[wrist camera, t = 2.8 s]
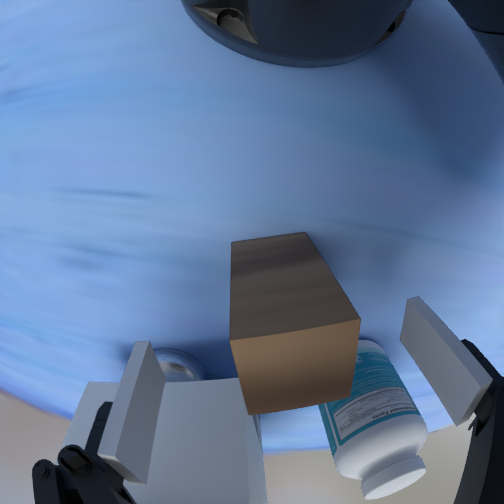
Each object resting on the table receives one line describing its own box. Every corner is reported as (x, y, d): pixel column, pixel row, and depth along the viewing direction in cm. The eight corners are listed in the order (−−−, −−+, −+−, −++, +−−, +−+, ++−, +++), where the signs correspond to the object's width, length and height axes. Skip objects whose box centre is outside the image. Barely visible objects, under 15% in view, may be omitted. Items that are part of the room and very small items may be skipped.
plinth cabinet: (104, 340, 22) (40, 495, 8) (242, 328, 22) (255, 532, 8) (154, 425, 28) (136, 544, 13) (261, 420, 28) (275, 551, 13)
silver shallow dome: (130, 349, 23) (122, 368, 21) (193, 344, 23) (189, 365, 21) (154, 391, 25) (149, 410, 23) (211, 388, 25) (210, 408, 23)
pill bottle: (363, 389, 27) (405, 493, 14) (299, 390, 26) (327, 513, 13) (394, 336, 24) (462, 448, 12) (325, 332, 23) (380, 475, 11)
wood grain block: (231, 242, 19) (229, 340, 10) (304, 231, 19) (360, 318, 10) (257, 385, 25) (266, 479, 16) (310, 377, 25) (334, 467, 16)
